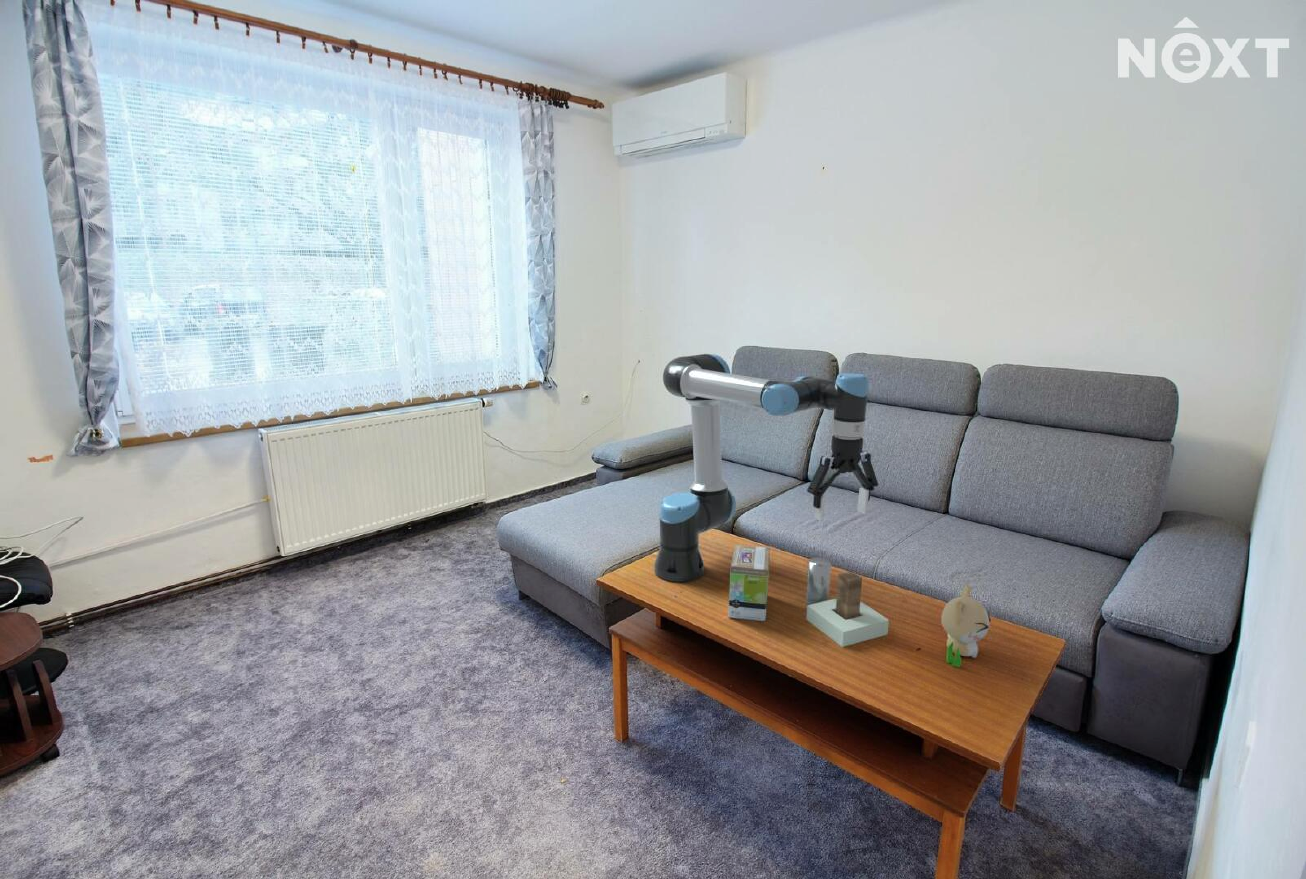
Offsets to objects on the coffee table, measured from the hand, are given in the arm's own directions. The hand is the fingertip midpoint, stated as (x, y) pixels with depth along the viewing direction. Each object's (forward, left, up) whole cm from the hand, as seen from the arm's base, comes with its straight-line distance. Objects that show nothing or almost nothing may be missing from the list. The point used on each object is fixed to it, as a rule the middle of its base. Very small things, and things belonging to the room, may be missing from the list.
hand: (840, 516), depth 159 cm
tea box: (-11, -20, -27) cm, 35 cm away
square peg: (+9, -3, -26) cm, 28 cm away
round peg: (-5, -2, -26) cm, 27 cm away
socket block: (+8, -3, -26) cm, 28 cm away
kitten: (+28, +14, -27) cm, 41 cm away
